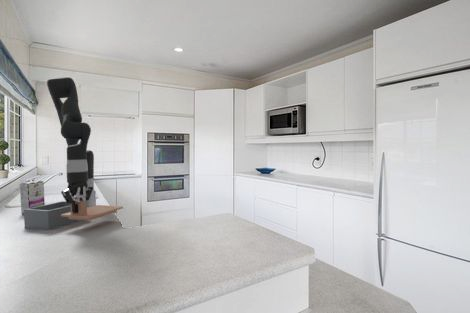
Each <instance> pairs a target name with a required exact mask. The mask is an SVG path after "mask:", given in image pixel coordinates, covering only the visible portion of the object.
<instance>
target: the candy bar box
mask: <svg viewBox="0 0 470 313" xmlns="http://www.w3.org/2000/svg"><path fill="white" fill-rule="evenodd" d="M44 185H45V184H44V181H43V180H34V181H27V182H22V183H19V193H20V207H21V214H23V215H24V209H28V208H33V207H38V206H42V205H46V204H45V190H44V188H45V186H44Z"/></svg>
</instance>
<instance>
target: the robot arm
mask: <svg viewBox="0 0 470 313" xmlns="http://www.w3.org/2000/svg"><path fill="white" fill-rule="evenodd" d="M46 85H47V89H48V92H49V94H50V97H51V99H52V102H53V104H54V107H55V110H56V114H57V116H58V120H59V123H60V126H61V127H60V134H61V136H62V137H63V138H64V139H65V142H66V144H67V147H66V165H65V166H66V182H67V184H68V185H67V188H66V189H65V190H62V191H61V195H62V197H63V198H64V201H66V202H67V203H68V204H72V212H73V213H78V200H79V201H87V208H88V207H92V206H96V205H97V201H96V200H97V198H96V197H97V196H96V195H97V194H96V190H95V182H94V180H95V178H94V174H95V170H94V168H95V167H94V166H95V165H94V164H95V162H94V161H95V156H94V152H93V151H92V150H89V149H88V144H89V139H90V137H91V132H92V130H91V129H92V128H91V126H90V125H89V123H87V122H82V121H83V116H82V113H81V110H80V107H79V96H78V90H77V89H78V88H77V86H76V82H75V81H74V79H73V78H72V77H68V76H67V77H55V78H53V77H52V78H49V79H47V81H46ZM65 98H66V100H64V102H63V101H62V99H65Z"/></svg>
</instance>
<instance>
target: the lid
mask: <svg viewBox="0 0 470 313" xmlns="http://www.w3.org/2000/svg"><path fill="white" fill-rule="evenodd" d="M70 208H71V212H69V213H65V214H61V216H63V217H69V219H74V220H80V221H87V222H88V221H89V222H90V221H92V220H97V219H99V218H103V217H106V216H109V215H112V214H115V213H117V212H118V211H119V210H122V209H124V206H121V205H119V206H118V205H101V204H96V206H92V207H88V208H87V201H79V200H78V213H73V212H72V204H70Z"/></svg>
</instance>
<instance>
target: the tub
mask: <svg viewBox="0 0 470 313" xmlns="http://www.w3.org/2000/svg"><path fill="white" fill-rule="evenodd" d="M69 212H71V208H70V204H68V203H67V202H66V200H64V201H63V200H62V201H57V202H51V203H49V204H45V205H42V206H38V207H33V208H28V209H24V214H23V217H24V218H23V219H24V228H25V229H32V230H33V229H34V230H44V231H49V230H54V229H57V228H60V227H64V226H66V225H69V224H70V225H71V224H72V223H73V224H74V223H76V222H79V221H81V220H74V219H69V217H63V216H61V214H65V213H69Z"/></svg>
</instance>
